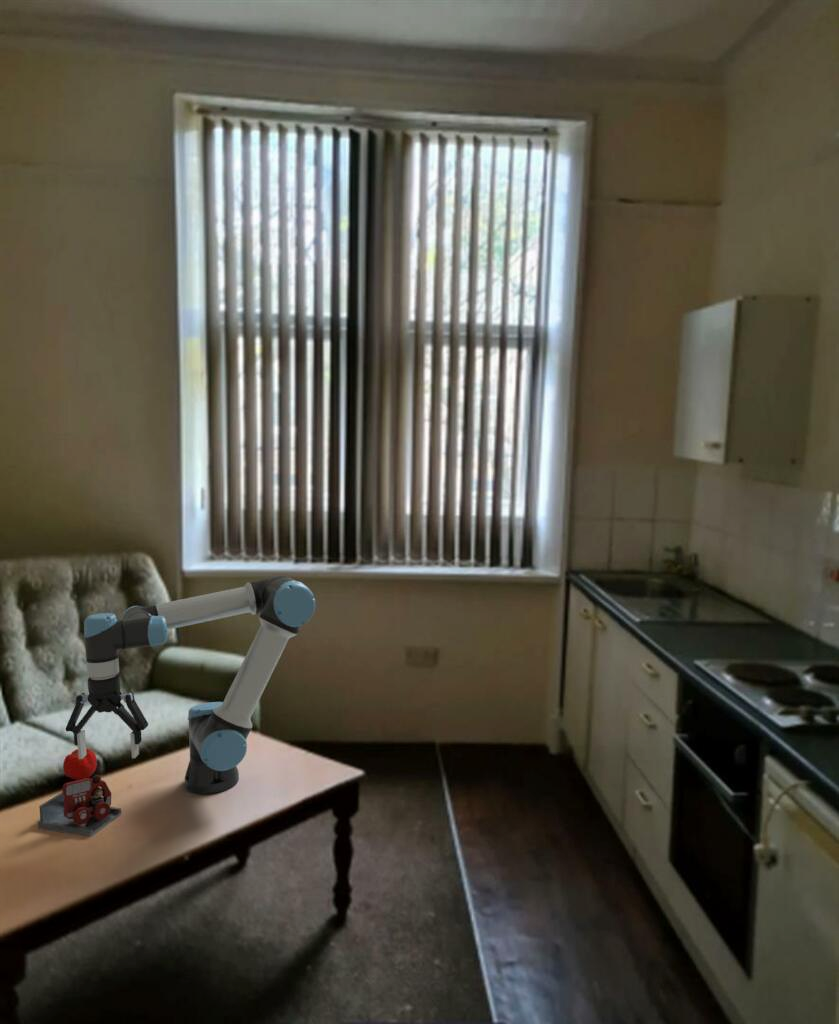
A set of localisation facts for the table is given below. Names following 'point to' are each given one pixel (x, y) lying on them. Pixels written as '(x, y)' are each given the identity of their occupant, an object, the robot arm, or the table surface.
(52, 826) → the grey l-shaped tray
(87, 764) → the tomato
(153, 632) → the robot arm
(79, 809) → the toy fire truck
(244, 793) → the table surface
